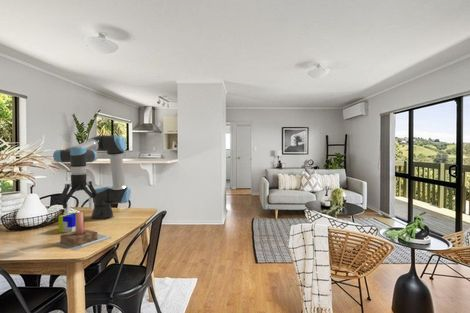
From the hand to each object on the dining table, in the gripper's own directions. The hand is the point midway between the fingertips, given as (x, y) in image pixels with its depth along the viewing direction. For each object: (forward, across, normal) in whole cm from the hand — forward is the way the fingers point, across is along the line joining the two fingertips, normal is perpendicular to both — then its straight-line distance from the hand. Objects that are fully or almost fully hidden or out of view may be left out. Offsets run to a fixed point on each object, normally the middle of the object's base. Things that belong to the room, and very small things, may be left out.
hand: (79, 211), depth 143 cm
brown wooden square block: (+17, +1, 0) cm, 17 cm away
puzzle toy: (+18, -11, -28) cm, 35 cm away
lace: (+17, -3, +9) cm, 19 cm away
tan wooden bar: (+17, +1, 0) cm, 17 cm away
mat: (+18, -1, +1) cm, 18 cm away
